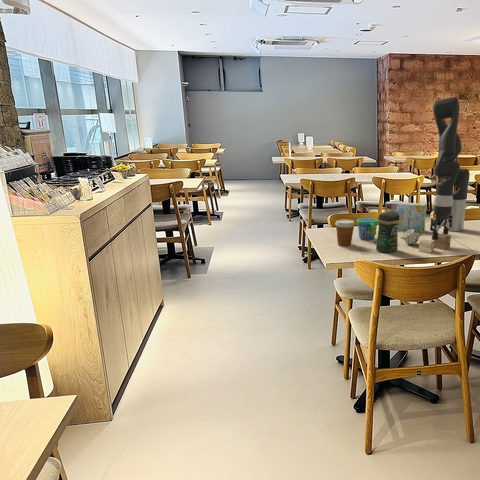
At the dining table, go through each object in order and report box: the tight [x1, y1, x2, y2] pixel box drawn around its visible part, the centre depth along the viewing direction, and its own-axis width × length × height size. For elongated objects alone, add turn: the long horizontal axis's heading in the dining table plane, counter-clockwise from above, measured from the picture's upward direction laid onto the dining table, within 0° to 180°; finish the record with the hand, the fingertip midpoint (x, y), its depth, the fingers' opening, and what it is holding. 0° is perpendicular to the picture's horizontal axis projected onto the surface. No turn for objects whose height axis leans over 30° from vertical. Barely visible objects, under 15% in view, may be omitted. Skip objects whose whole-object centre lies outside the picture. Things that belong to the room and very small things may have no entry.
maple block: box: [418, 238, 435, 254], centre depth 201 cm, size 5×5×5 cm
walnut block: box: [431, 232, 452, 251], centre depth 206 cm, size 6×6×6 cm
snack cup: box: [356, 217, 379, 241], centre depth 225 cm, size 16×10×10 cm
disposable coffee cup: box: [334, 218, 356, 247], centre depth 215 cm, size 10×10×12 cm
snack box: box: [383, 201, 428, 233], centre depth 240 cm, size 21×6×15 cm, turn 58°
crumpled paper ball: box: [400, 228, 422, 247], centre depth 212 cm, size 9×8×10 cm
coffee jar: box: [375, 211, 399, 254], centre depth 202 cm, size 10×8×19 cm
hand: (440, 238), depth 205 cm, fingers open, 8 cm apart
